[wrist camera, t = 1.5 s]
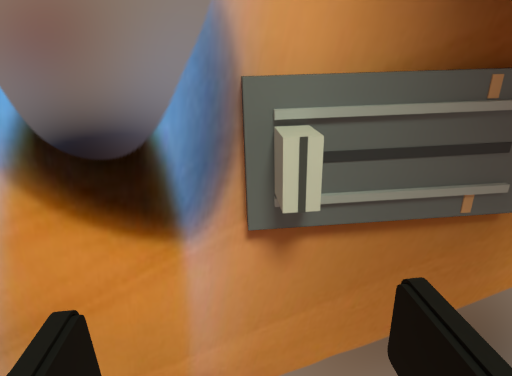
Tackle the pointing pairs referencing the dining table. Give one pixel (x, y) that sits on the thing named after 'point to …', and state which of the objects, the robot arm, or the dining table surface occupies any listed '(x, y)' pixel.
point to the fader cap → (298, 168)
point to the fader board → (385, 144)
